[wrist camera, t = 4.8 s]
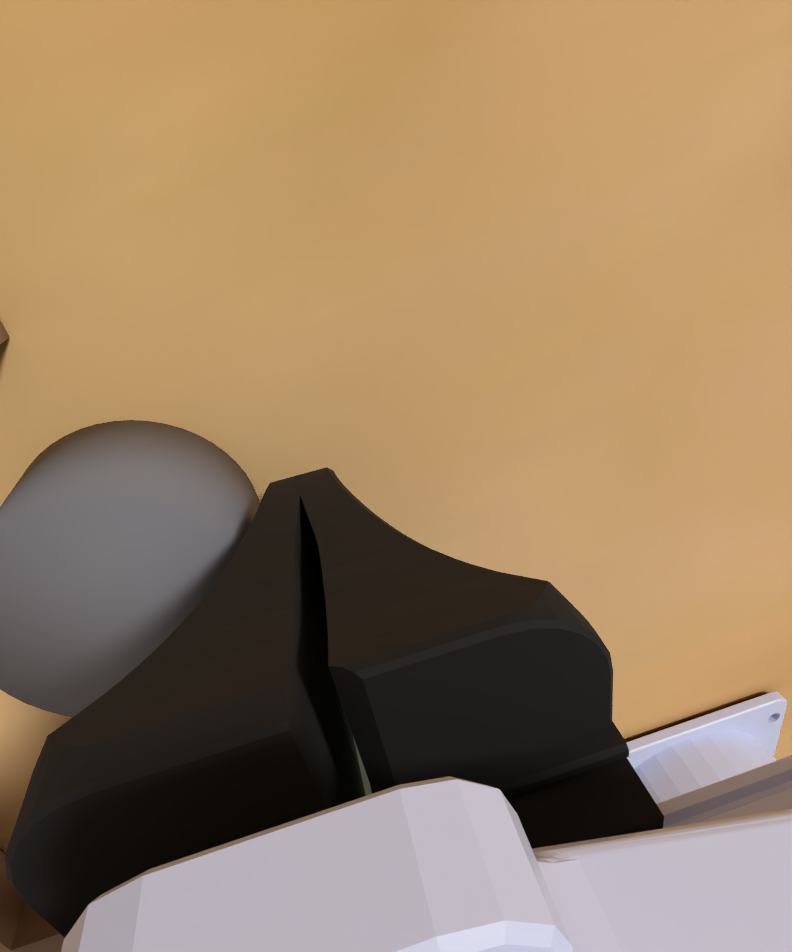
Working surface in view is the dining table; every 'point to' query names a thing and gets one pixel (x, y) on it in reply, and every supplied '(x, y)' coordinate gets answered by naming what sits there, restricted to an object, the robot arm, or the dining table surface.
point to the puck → (110, 555)
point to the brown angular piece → (4, 911)
